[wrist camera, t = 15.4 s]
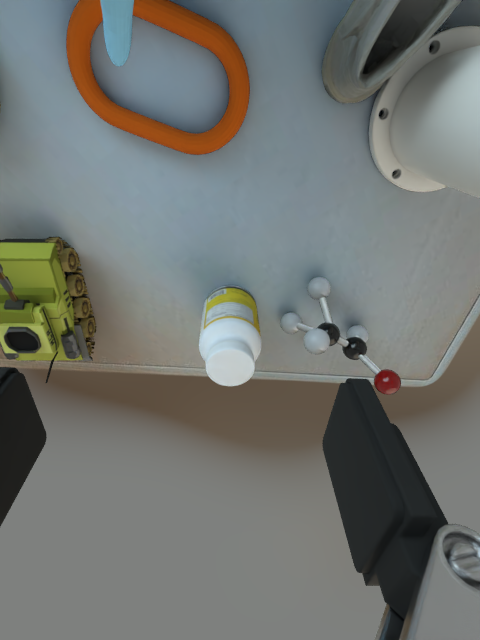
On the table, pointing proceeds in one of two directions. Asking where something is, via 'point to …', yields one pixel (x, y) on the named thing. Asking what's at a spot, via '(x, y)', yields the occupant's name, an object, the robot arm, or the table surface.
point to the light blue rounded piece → (117, 28)
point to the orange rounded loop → (181, 21)
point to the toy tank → (43, 302)
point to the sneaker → (378, 43)
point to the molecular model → (338, 337)
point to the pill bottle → (230, 335)
